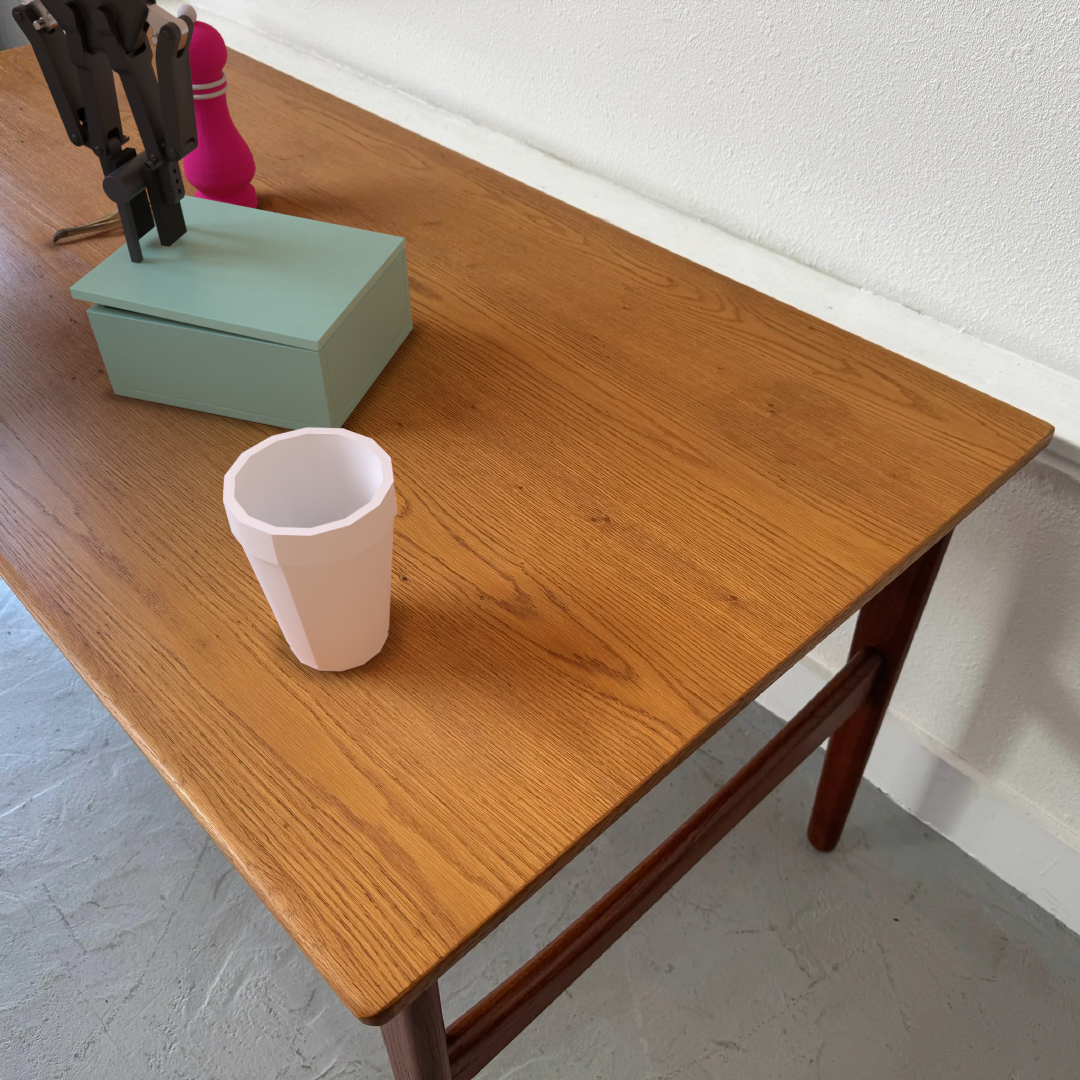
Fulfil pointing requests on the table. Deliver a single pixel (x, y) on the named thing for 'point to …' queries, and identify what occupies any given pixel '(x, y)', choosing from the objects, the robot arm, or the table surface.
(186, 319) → the freezer lid
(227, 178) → the pepper mill
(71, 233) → the tongs
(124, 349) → the box
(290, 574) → the foam cup
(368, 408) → the table surface
